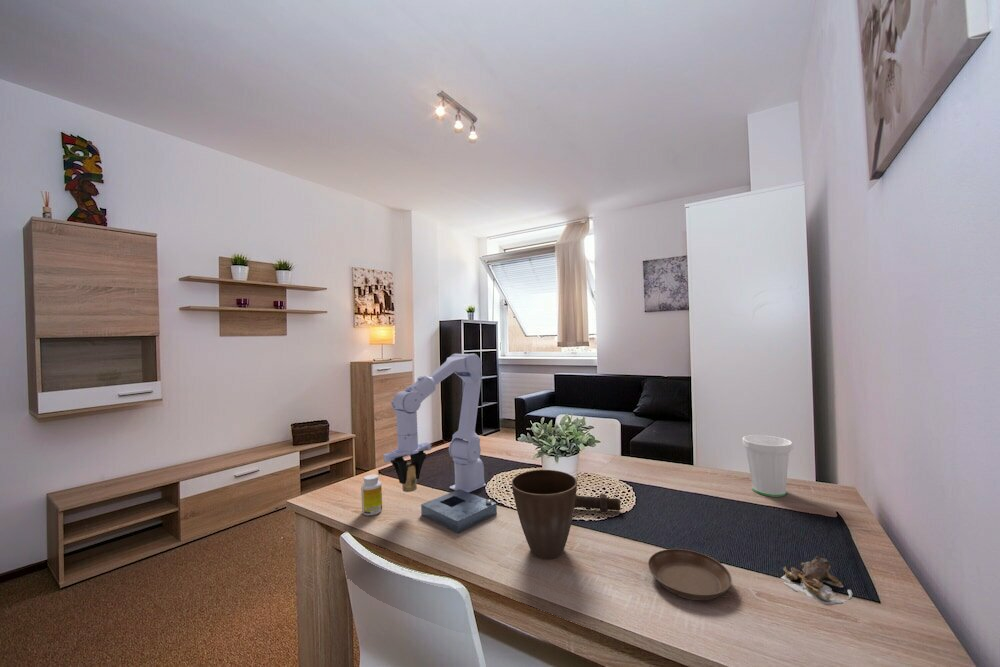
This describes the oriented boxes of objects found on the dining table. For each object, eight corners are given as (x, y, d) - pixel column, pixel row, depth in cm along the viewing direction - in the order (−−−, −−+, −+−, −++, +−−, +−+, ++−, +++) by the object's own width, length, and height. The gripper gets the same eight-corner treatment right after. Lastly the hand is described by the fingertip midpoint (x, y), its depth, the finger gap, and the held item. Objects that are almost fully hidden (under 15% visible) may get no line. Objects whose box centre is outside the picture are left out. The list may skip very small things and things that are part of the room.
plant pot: (573, 575, 81) (570, 497, 81) (505, 563, 86) (502, 490, 86) (584, 538, 95) (581, 472, 95) (524, 530, 100) (522, 467, 100)
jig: (459, 498, 122) (459, 486, 122) (496, 513, 110) (496, 500, 110) (421, 515, 112) (420, 501, 112) (458, 533, 100) (457, 518, 100)
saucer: (693, 619, 68) (692, 603, 68) (632, 573, 82) (632, 559, 82) (750, 593, 74) (749, 578, 74) (684, 554, 88) (684, 542, 88)
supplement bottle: (385, 512, 114) (384, 476, 114) (366, 518, 111) (365, 481, 111) (377, 506, 119) (376, 472, 119) (359, 511, 115) (358, 476, 115)
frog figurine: (792, 559, 84) (791, 541, 84) (865, 590, 74) (864, 570, 74) (763, 578, 79) (762, 558, 79) (837, 614, 68) (836, 591, 68)
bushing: (411, 485, 116) (410, 461, 116) (419, 488, 114) (418, 464, 114) (399, 489, 114) (398, 465, 114) (407, 493, 111) (406, 467, 111)
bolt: (620, 520, 108) (564, 514, 111) (619, 503, 112) (565, 499, 115) (621, 506, 105) (564, 501, 108) (619, 490, 109) (564, 486, 113)
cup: (746, 480, 127) (744, 432, 127) (794, 488, 120) (792, 437, 120) (742, 494, 117) (740, 442, 117) (795, 503, 109) (792, 448, 109)
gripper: (392, 441, 106) (394, 492, 106) (436, 430, 116) (438, 476, 116) (378, 437, 111) (380, 485, 111) (422, 426, 121) (424, 471, 121)
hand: (409, 480), depth 114 cm, fingers closed on bushing, 4 cm apart
